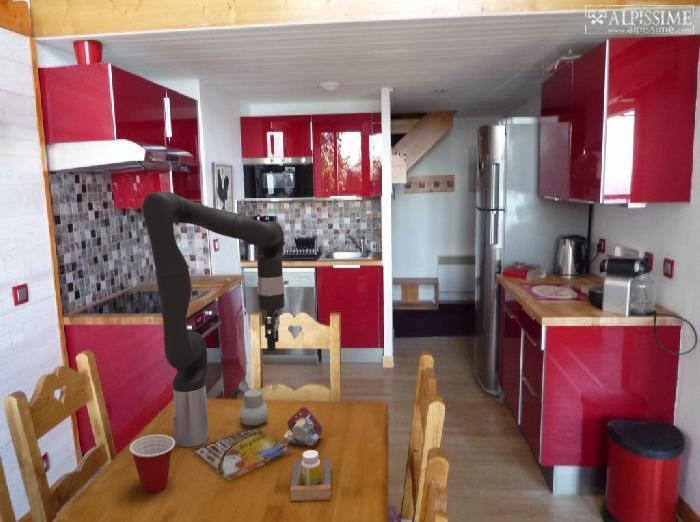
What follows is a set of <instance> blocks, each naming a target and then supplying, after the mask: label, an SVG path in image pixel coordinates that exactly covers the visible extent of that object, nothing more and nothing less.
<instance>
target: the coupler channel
mask: <svg viewBox="0 0 700 522" xmlns="http://www.w3.org/2000/svg"><path fill="white" fill-rule="evenodd" d="M292 467H293V468H292V475H291V481H290V490H289V491H290V492H289V493H290V502H305V501H306V502H309V501H328V500H329V501H331V499H332V497H331V496H332V493H331V490H332V489H331V488H332V487H331V481H332V479H331V477H332V476H331V458H324V460H323V484H320V485H306V486H303V485H300V479H301V471H302V468H301V459H294V460H293V466H292Z"/></svg>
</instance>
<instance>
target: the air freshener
mask: <svg viewBox="0 0 700 522" xmlns="http://www.w3.org/2000/svg"><path fill="white" fill-rule="evenodd" d="M263 400H264V399H263V392H262V391H261V390H259V389H248V390H247V391H245V392H244V393H243V403H244V404H243V405H241V406H240V419H241V421H240V422H241V424H243V425H246V426H258V425H262V424H264V423H265V422H267V421H268V417H269V416H268V406H267V403H266V402H264V401H263Z"/></svg>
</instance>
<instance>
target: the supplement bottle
mask: <svg viewBox="0 0 700 522" xmlns="http://www.w3.org/2000/svg"><path fill="white" fill-rule="evenodd" d="M300 466H301V483H302V485H301V486H306V485H322V480H321V479H322V477H321V476H322V475H321V460H320V459H319V452H318V451H316V450H313V449H308V450H306V451H304V452H303V453H302V460H301V462H300Z"/></svg>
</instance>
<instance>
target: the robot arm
mask: <svg viewBox="0 0 700 522" xmlns="http://www.w3.org/2000/svg"><path fill="white" fill-rule="evenodd" d="M142 214H143V218H144V219H143V220H144V222H145V225H146V229H147V234H148V237H149V241H150V245H151V252H152V257H153V258H152V259H153V263H154V271H155V278H156V286H157V292H158V297H159V300H160V308H161V315H162V316H161V317H162V325H163V347H164V355H165V359H166V360H167V362H168V364H169V365H170V366H171V368H174V369H175V370H177V373H176V374H175V376H174V378H173V379H172V388H173V389H172V391H173V405H174V413H173V415H172V423H173V434H174V435H173V437H174V438H173V439H174V440H175V446H178V447H183V448H194V447H198V446H201V445H203V444H205V443H206V442H208V440H209V439H210V438H209V435H210V434H209V421H208V406H207V405H208V404H207V403H208V402H207V391H206V389H207V387H206V378H207V375H208V348H207V343H206V340H205V339H204V337H203V335H201V334H200V333H199V332H197V331H188V326H187V324H188V323H187V316H188V312H189V306H190V301H191V297H192V289H193V288H192V281H191V275H190V268H189V265H188V263H187V261H186V259H185V256H184V255H183V253H182V251H181V250H180V248H179V245H178V243H177V240H176V235H175V228H174V223H177V224H180V223H181V224H189V225H193V226H199V227H201V228H204V229H205V230H208V231H210V232H212V233H215V234H218V235H220V236H224V237H227V238H228V237H229V238H233V239H236V240H240V241H244V242H245V243H248V244H251V245H254V246H256V247H260V254H259V257H258V258H257V265H256V266H257V283H256V284H257V285H256V287H257V306H258V309H259V310H261V311H262V310H263V311H266V312H265V315H264V317H263V318H264V338H265V339H266V349H267V351H268V352H275V351H276V350H277V349H276V343H278V342H279V340H280V339H279V328H280V315H281V314H280V312H279V310H281V309H283V308H284V307H285V305H286V303H285V301H286V300H285V282H284V277H283V275H284V274H283V252H284V243H285V235H284V230H283V228H282V226H281V224H280V223H278V222H276V221H273V220H272V221H271V220H269V221H260V220H256V219H251V218H250V217H248V216H246V215H244V214H241V213H237V212H233V211H229V210H225V209H224V210H223V209H219V208H215V207H210V206H206V205H204V204H199V203H196V202H195V201H192V200H189V199H187V198H186V197H183V196H180V195H178V194H175V193H174V192H171V191H153V192H149V193H148V194H147V195H146V196H145V198H144V199H143V202H142ZM269 332H270V333H269Z"/></svg>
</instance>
